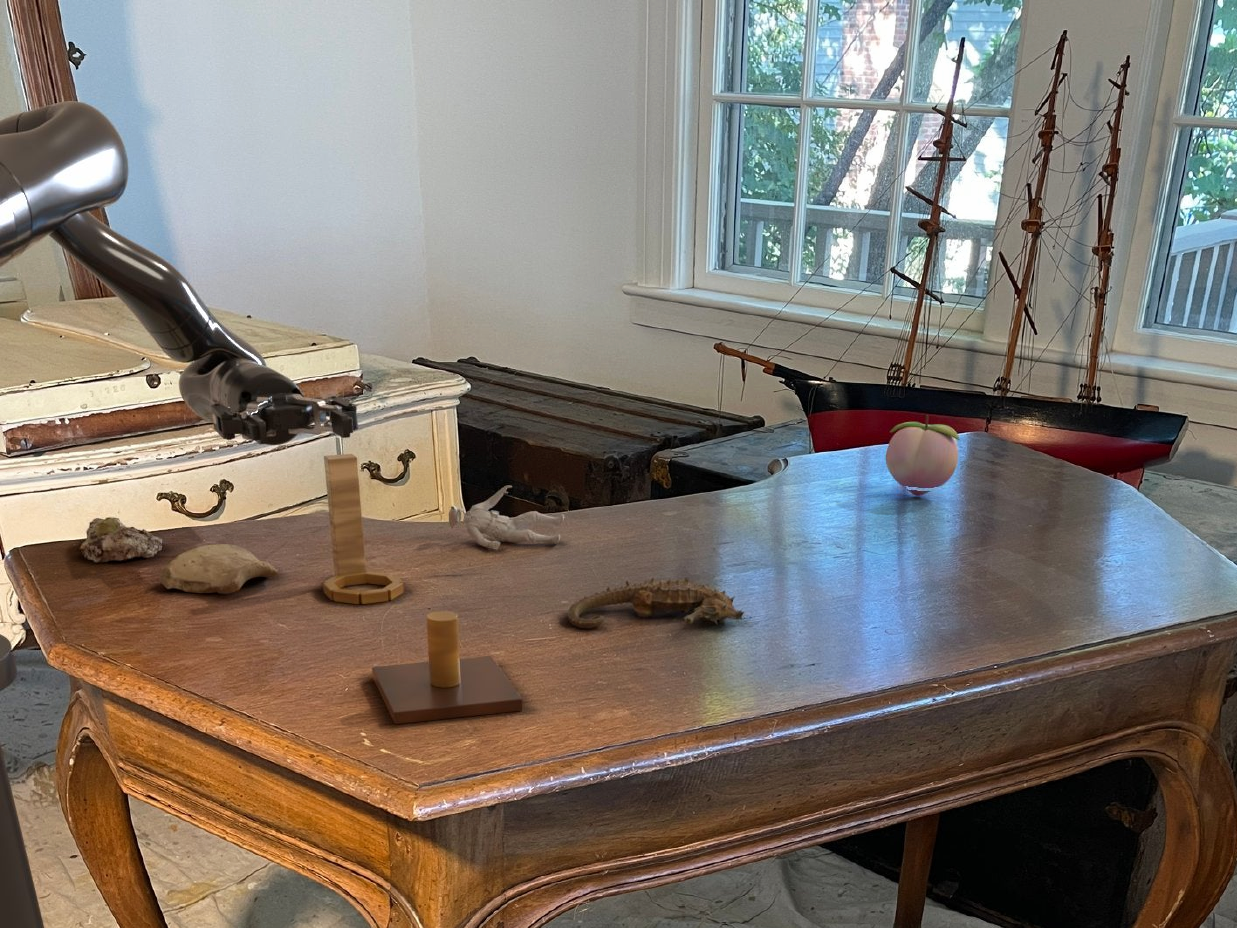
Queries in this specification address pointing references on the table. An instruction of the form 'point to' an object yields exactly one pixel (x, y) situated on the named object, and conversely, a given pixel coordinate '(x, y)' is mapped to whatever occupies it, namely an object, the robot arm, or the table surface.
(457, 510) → the soldier figure
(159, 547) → the mineral rock
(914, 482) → the decorative fruit
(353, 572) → the wooden ring with handle
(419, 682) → the peg stand
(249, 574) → the pottery shard
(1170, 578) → the table surface
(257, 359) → the robot arm
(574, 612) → the seahorse
